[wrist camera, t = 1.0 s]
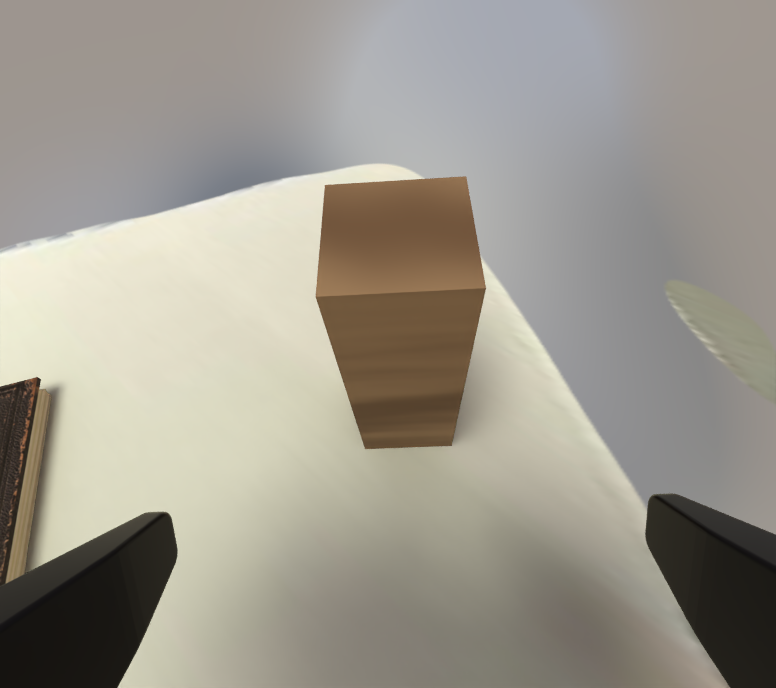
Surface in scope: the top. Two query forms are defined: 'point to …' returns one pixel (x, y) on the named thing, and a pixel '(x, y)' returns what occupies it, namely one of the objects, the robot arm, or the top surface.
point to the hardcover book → (19, 469)
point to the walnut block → (401, 303)
